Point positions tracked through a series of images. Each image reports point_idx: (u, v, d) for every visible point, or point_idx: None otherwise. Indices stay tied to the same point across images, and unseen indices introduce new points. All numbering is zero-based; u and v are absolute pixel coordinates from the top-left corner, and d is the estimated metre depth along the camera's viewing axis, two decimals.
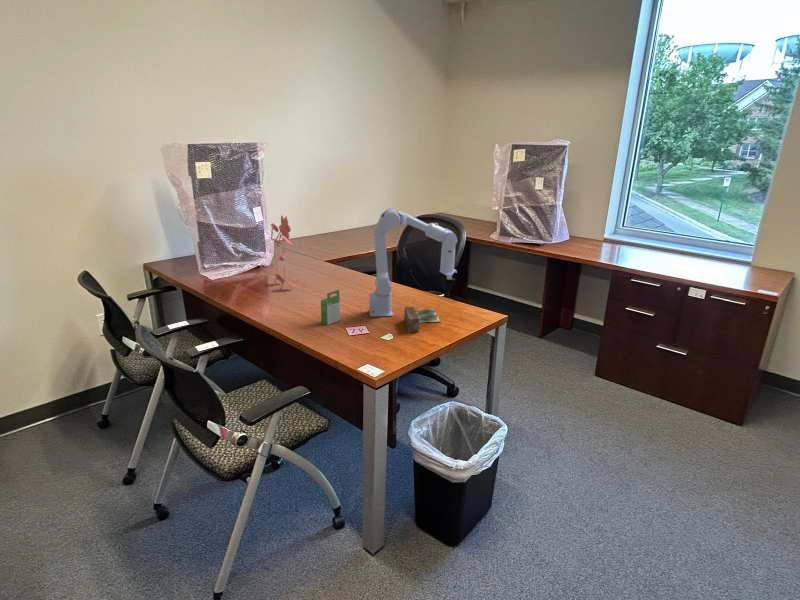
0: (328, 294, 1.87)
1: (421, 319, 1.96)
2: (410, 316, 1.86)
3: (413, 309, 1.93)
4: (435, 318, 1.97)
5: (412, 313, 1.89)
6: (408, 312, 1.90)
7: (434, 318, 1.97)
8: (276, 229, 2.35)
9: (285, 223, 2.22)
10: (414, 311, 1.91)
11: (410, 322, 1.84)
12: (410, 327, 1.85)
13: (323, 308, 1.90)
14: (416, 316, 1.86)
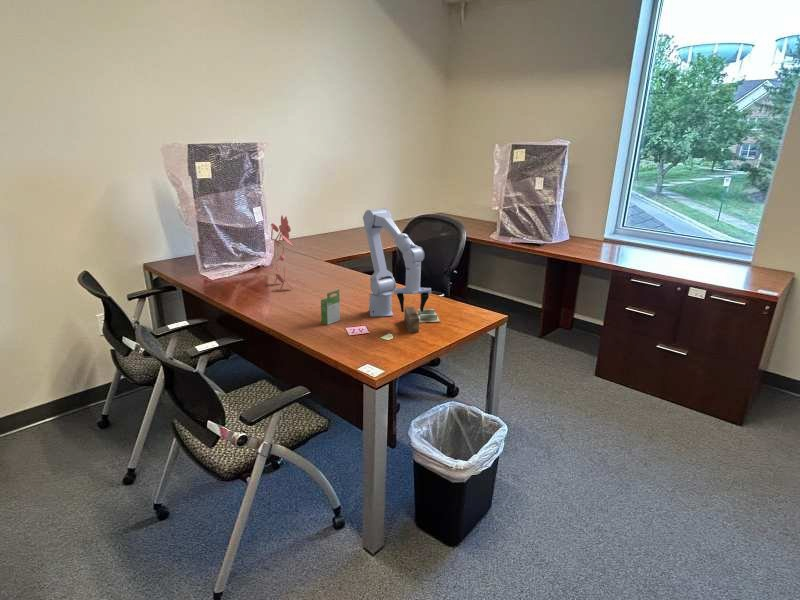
0: (328, 294, 1.87)
1: (421, 319, 1.96)
2: (410, 316, 1.86)
3: (413, 309, 1.93)
4: (435, 318, 1.97)
5: (412, 313, 1.89)
6: (408, 312, 1.90)
7: (434, 318, 1.97)
8: (276, 229, 2.35)
9: (285, 223, 2.22)
10: (414, 311, 1.91)
11: (410, 322, 1.84)
12: (410, 327, 1.85)
13: (323, 308, 1.90)
14: (416, 316, 1.86)
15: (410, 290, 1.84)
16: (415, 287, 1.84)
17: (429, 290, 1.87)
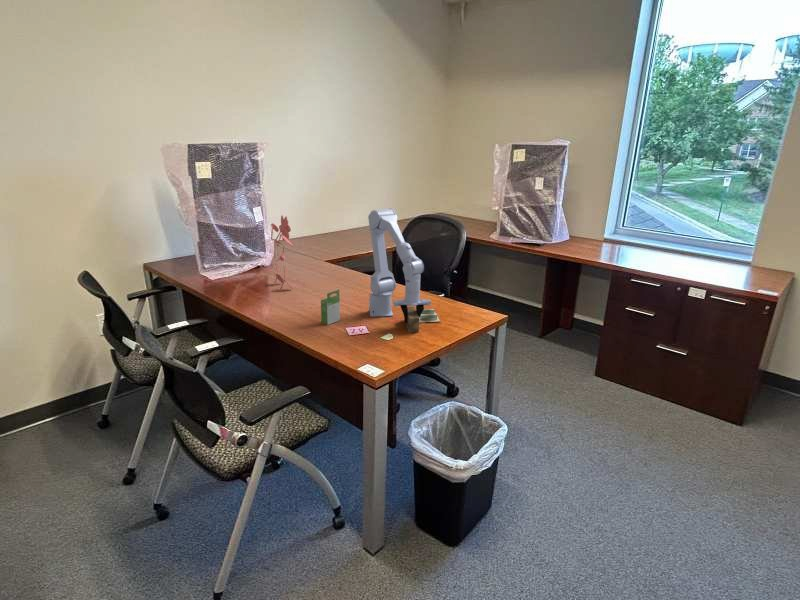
0: (328, 294, 1.87)
1: (421, 319, 1.96)
2: (410, 316, 1.86)
3: (413, 309, 1.93)
4: (435, 318, 1.97)
5: (412, 313, 1.89)
6: (408, 312, 1.90)
7: (434, 318, 1.97)
8: (276, 229, 2.35)
9: (285, 223, 2.22)
10: (414, 311, 1.91)
11: (410, 322, 1.84)
12: (410, 327, 1.85)
13: (323, 308, 1.90)
14: (416, 316, 1.86)
15: (410, 302, 1.85)
16: (414, 299, 1.85)
17: (428, 302, 1.88)
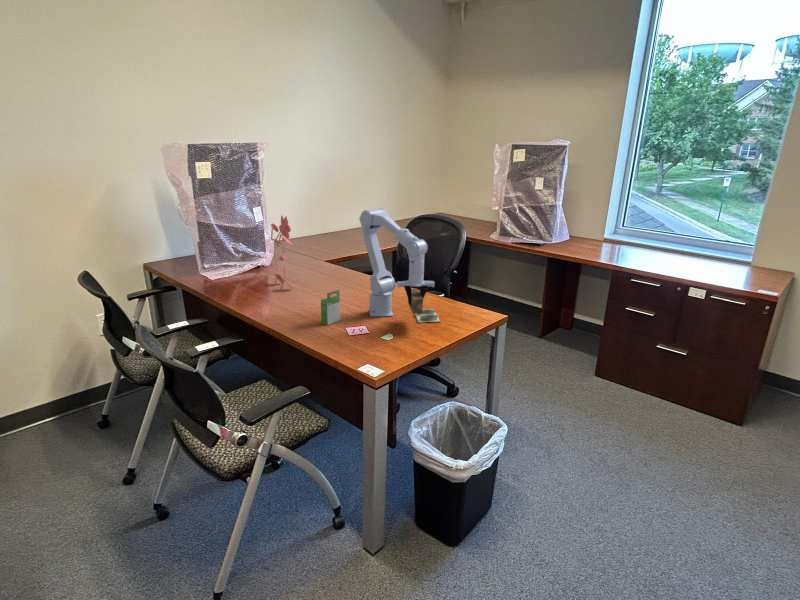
0: (328, 294, 1.87)
1: (421, 319, 1.96)
2: (414, 297, 1.85)
3: (417, 290, 1.92)
4: (435, 318, 1.97)
5: (416, 294, 1.88)
6: (412, 293, 1.89)
7: (434, 318, 1.97)
8: (276, 229, 2.35)
9: (285, 223, 2.22)
10: (418, 293, 1.90)
11: (414, 302, 1.83)
12: (414, 308, 1.84)
13: (323, 308, 1.90)
14: (420, 297, 1.85)
15: (413, 283, 1.85)
16: (418, 280, 1.84)
17: (432, 283, 1.87)
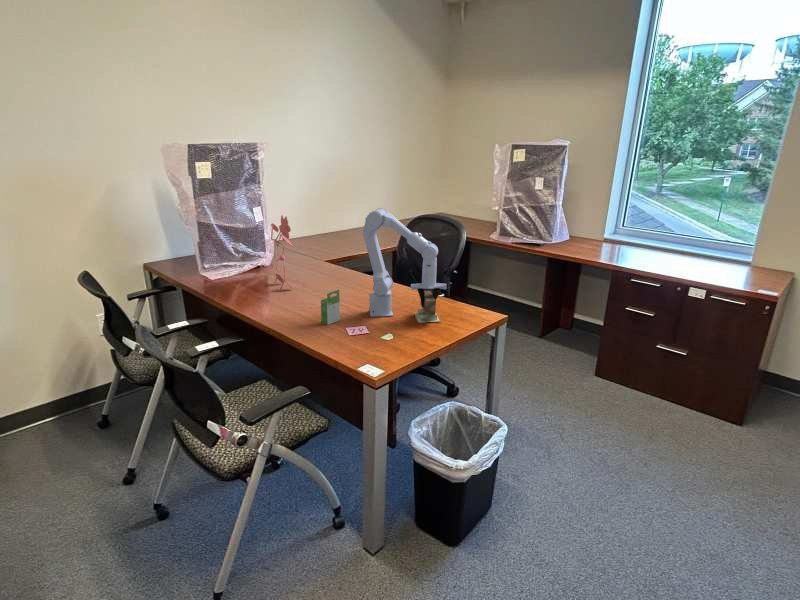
0: (328, 294, 1.87)
1: (421, 319, 1.96)
2: (427, 299, 1.93)
3: (429, 292, 2.00)
4: (435, 318, 1.97)
5: (429, 296, 1.96)
6: (425, 295, 1.97)
7: (434, 318, 1.97)
8: (276, 229, 2.35)
9: (285, 223, 2.22)
10: (431, 295, 1.98)
11: (427, 304, 1.91)
12: (427, 309, 1.92)
13: (323, 308, 1.90)
14: (433, 299, 1.93)
15: (426, 285, 1.93)
16: (431, 283, 1.92)
17: (444, 285, 1.95)
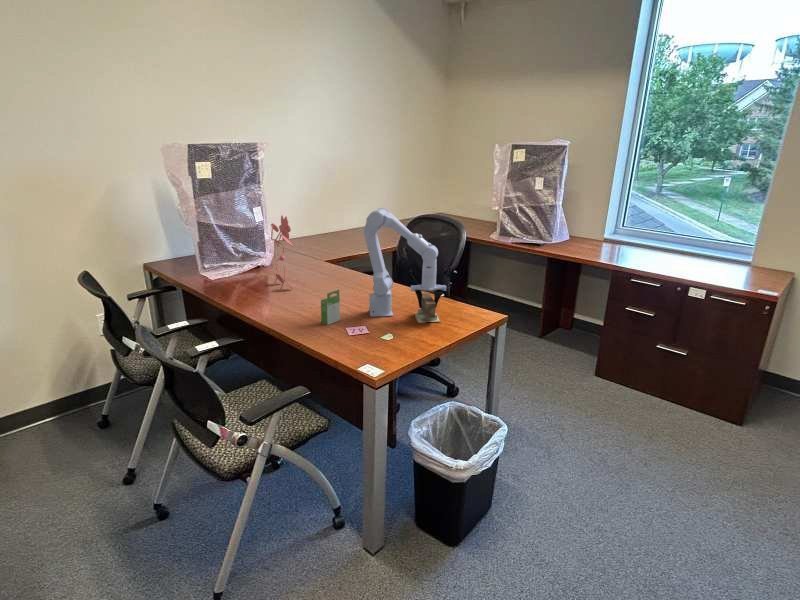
0: (328, 294, 1.87)
1: (421, 319, 1.96)
2: (427, 301, 1.93)
3: (429, 295, 2.01)
4: (435, 318, 1.97)
5: (429, 299, 1.97)
6: (424, 298, 1.97)
7: (434, 318, 1.97)
8: (276, 229, 2.35)
9: (285, 223, 2.22)
10: (430, 297, 1.98)
11: (427, 307, 1.92)
12: (427, 312, 1.92)
13: (323, 308, 1.90)
14: (432, 301, 1.94)
15: (426, 287, 1.93)
16: (431, 284, 1.93)
17: (444, 287, 1.96)
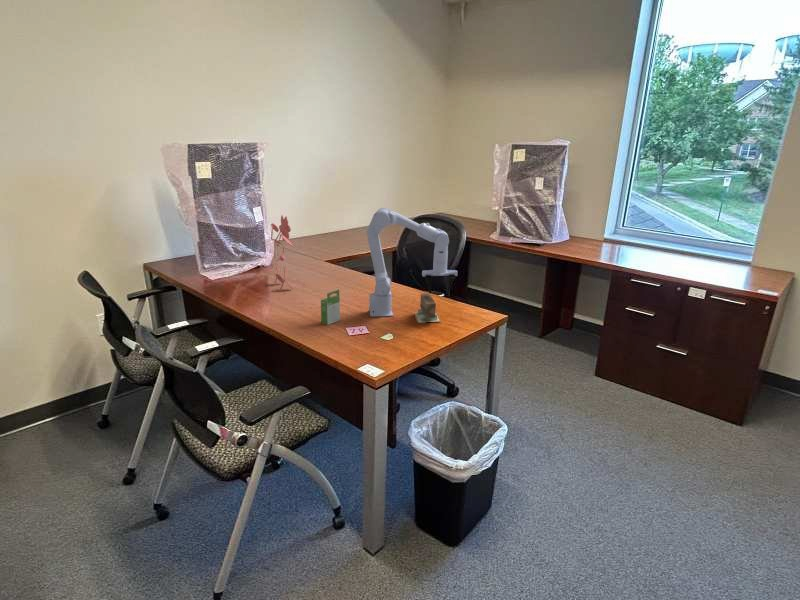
0: (328, 294, 1.87)
1: (421, 319, 1.96)
2: (427, 301, 1.93)
3: (429, 295, 2.01)
4: (435, 318, 1.97)
5: (429, 299, 1.97)
6: (424, 298, 1.97)
7: (434, 318, 1.97)
8: (276, 229, 2.35)
9: (285, 223, 2.22)
10: (430, 297, 1.98)
11: (427, 307, 1.92)
12: (427, 312, 1.92)
13: (323, 308, 1.90)
14: (432, 301, 1.94)
15: (438, 272, 1.95)
16: (442, 269, 1.95)
17: (455, 272, 1.98)
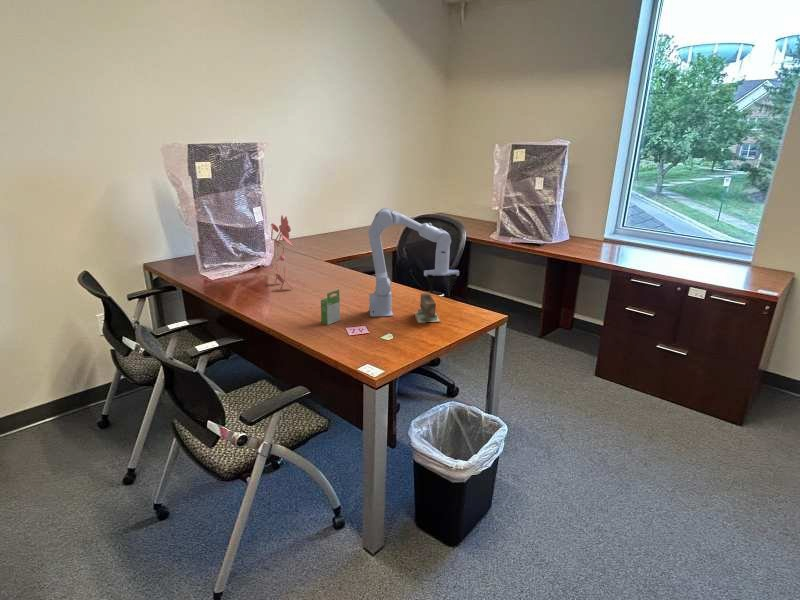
0: (328, 294, 1.87)
1: (421, 319, 1.96)
2: (427, 301, 1.93)
3: (429, 295, 2.01)
4: (435, 318, 1.97)
5: (429, 299, 1.97)
6: (424, 298, 1.97)
7: (434, 318, 1.97)
8: (276, 229, 2.35)
9: (285, 223, 2.22)
10: (430, 297, 1.98)
11: (427, 307, 1.92)
12: (427, 312, 1.92)
13: (323, 308, 1.90)
14: (432, 301, 1.94)
15: (439, 272, 1.96)
16: (444, 269, 1.95)
17: (457, 272, 1.99)
